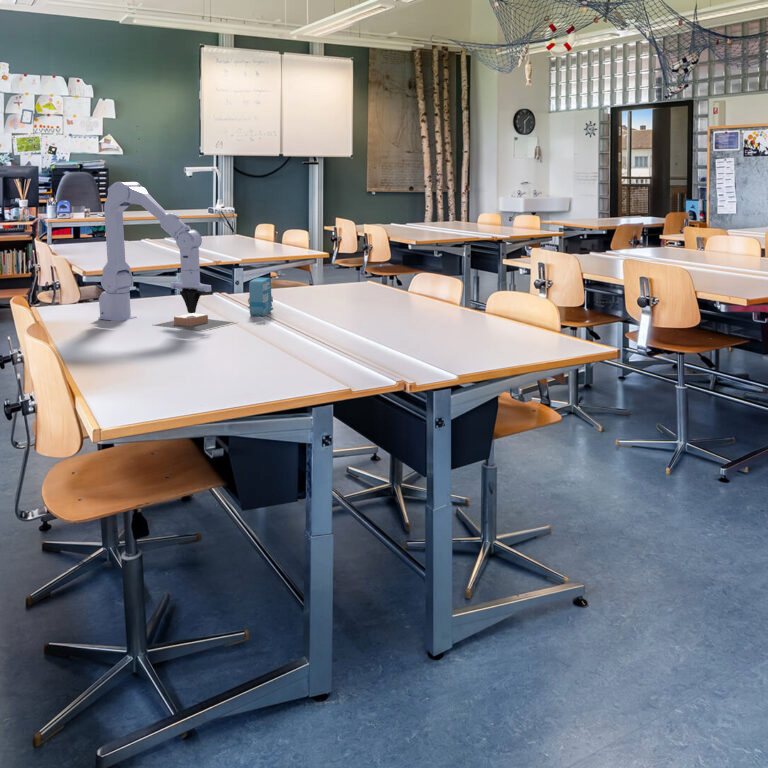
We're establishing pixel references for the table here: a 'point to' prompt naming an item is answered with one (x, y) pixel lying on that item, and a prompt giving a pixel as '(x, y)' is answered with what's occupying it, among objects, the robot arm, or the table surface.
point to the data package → (260, 296)
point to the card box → (190, 319)
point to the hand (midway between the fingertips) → (191, 312)
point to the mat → (200, 327)
